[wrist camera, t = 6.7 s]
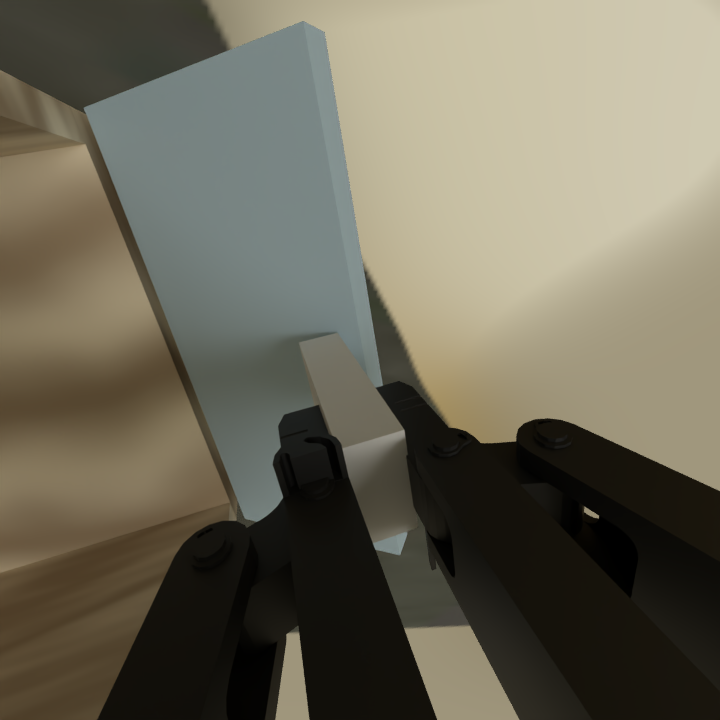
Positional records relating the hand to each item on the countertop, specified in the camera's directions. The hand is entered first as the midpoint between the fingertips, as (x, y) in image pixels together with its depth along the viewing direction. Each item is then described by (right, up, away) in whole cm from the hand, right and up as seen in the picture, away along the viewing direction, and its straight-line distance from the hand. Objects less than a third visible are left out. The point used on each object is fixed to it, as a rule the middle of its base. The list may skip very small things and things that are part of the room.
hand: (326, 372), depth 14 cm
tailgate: (-7, +1, +4) cm, 8 cm away
